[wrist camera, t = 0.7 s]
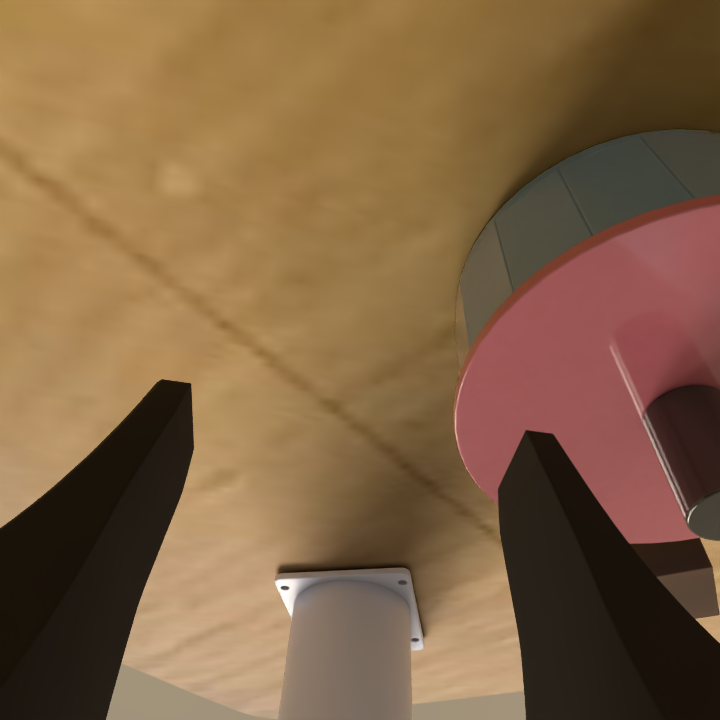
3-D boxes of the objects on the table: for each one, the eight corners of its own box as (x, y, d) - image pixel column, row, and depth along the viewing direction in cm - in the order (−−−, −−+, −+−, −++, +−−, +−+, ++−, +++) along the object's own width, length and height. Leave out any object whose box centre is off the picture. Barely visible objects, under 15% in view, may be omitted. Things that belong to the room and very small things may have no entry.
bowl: (813, 369, 24) (902, 478, 20) (506, 447, 28) (525, 552, 24) (821, 56, 17) (962, 123, 13) (406, 217, 21) (408, 309, 17)
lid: (906, 469, 21) (1014, 599, 17) (514, 548, 25) (534, 666, 21) (973, 82, 13) (1198, 170, 9) (385, 288, 17) (382, 406, 13)
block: (685, 534, 32) (719, 615, 28) (599, 550, 33) (622, 630, 30) (675, 484, 29) (712, 566, 26) (582, 504, 30) (606, 585, 27)
